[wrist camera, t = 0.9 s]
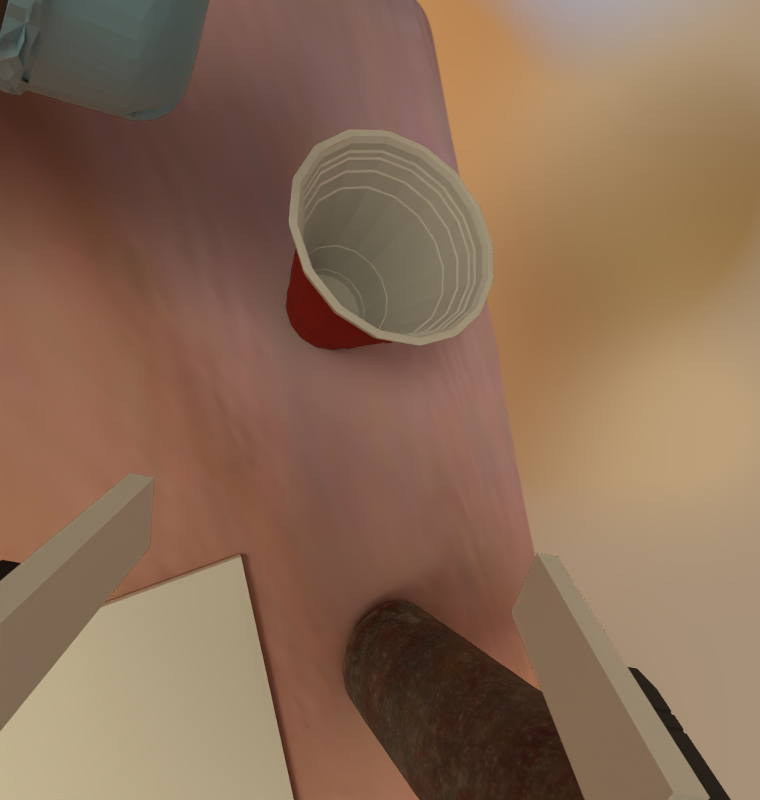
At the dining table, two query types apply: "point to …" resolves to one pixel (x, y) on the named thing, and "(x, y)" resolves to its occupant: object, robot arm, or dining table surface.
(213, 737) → the mat
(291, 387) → the dining table surface
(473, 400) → the dining table surface
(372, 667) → the brown rough cylinder
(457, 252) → the plastic cup
